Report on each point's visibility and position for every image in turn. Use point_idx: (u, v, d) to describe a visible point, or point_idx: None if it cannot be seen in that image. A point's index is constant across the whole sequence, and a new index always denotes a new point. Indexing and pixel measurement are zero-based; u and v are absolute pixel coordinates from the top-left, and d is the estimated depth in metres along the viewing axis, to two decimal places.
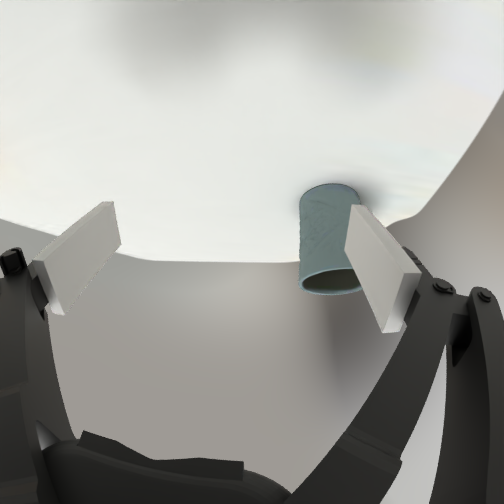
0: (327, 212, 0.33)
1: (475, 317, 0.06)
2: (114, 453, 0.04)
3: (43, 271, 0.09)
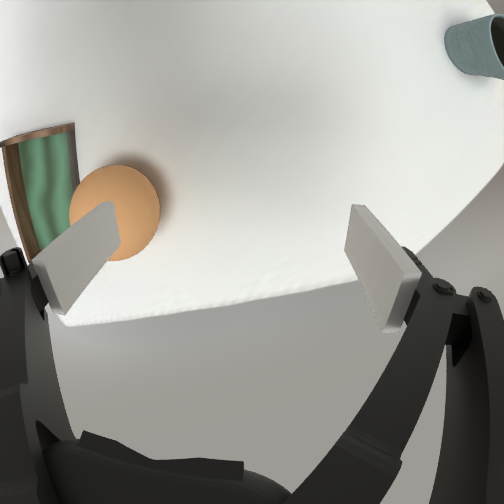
0: (460, 29, 0.20)
1: (475, 317, 0.06)
2: (114, 453, 0.04)
3: (43, 271, 0.09)
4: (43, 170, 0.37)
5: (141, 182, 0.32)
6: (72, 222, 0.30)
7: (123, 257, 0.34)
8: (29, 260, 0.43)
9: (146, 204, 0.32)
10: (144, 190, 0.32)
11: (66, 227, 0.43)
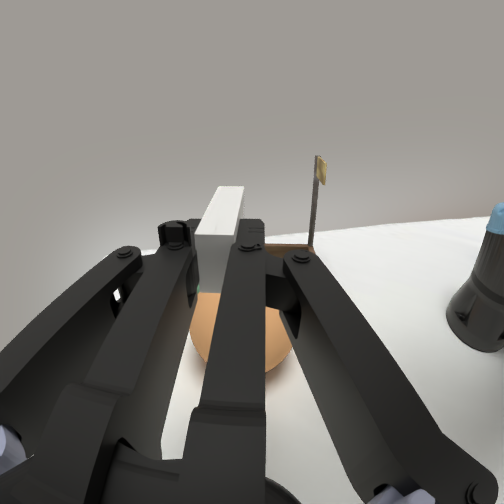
0: None
1: (296, 284, 0.08)
2: (114, 453, 0.04)
3: (207, 246, 0.11)
4: None
5: (281, 352, 0.29)
6: None
7: (200, 311, 0.29)
8: None
9: None
10: (275, 352, 0.28)
11: None
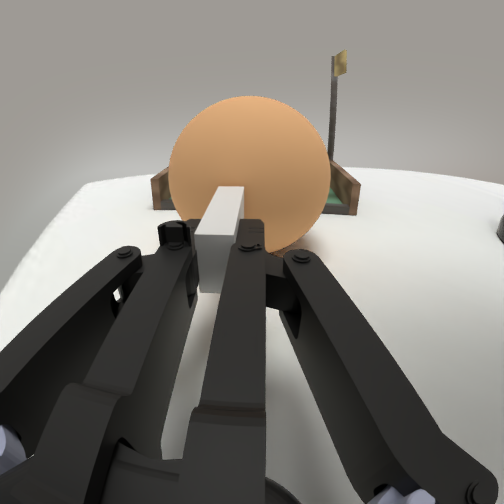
0: None
1: (296, 284, 0.08)
2: (114, 453, 0.04)
3: (207, 246, 0.11)
4: None
5: (313, 177, 0.18)
6: None
7: (186, 126, 0.19)
8: None
9: (279, 152, 0.16)
10: (302, 167, 0.17)
11: None
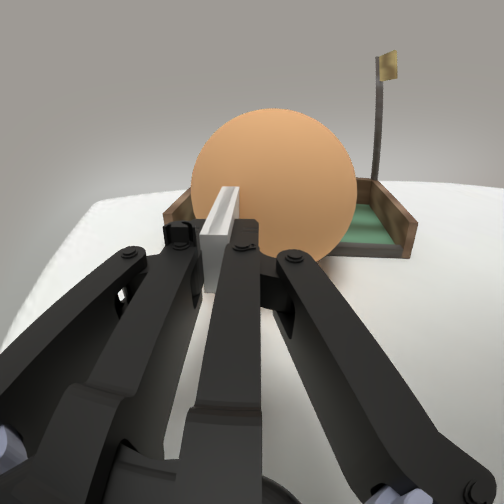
0: None
1: (289, 284, 0.08)
2: (114, 453, 0.04)
3: (212, 246, 0.11)
4: None
5: (321, 138, 0.17)
6: None
7: None
8: None
9: (280, 117, 0.17)
10: (307, 127, 0.17)
11: None
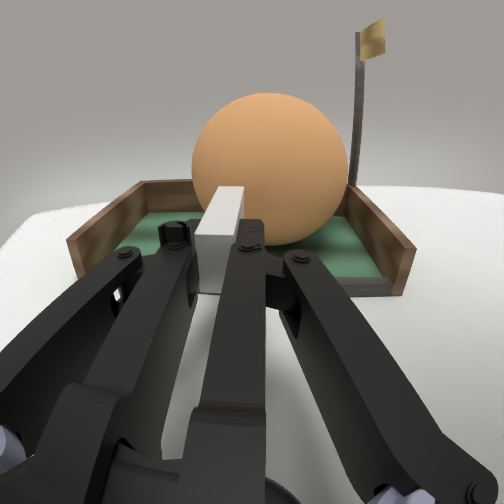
0: None
1: (296, 284, 0.08)
2: (114, 453, 0.04)
3: (207, 246, 0.11)
4: None
5: (300, 104, 0.18)
6: None
7: None
8: (144, 182, 0.31)
9: None
10: (296, 99, 0.19)
11: None
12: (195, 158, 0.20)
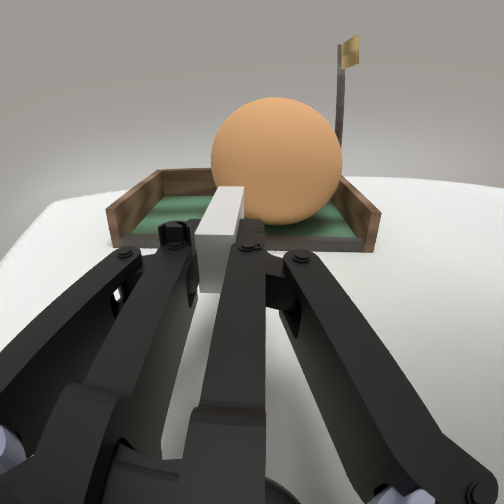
0: None
1: (296, 284, 0.08)
2: (114, 453, 0.04)
3: (207, 246, 0.11)
4: None
5: (313, 126, 0.21)
6: None
7: None
8: (161, 170, 0.36)
9: (303, 105, 0.23)
10: (310, 116, 0.22)
11: None
12: (217, 155, 0.24)
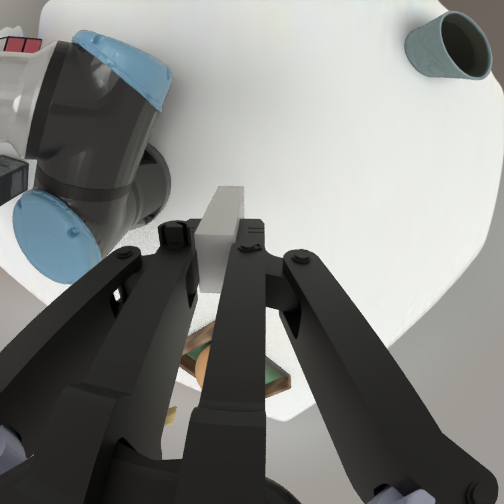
0: (418, 52, 0.27)
1: (296, 284, 0.08)
2: (114, 453, 0.04)
3: (207, 246, 0.11)
4: None
5: None
6: None
7: None
8: None
9: None
10: None
11: None
12: None
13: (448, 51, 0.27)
